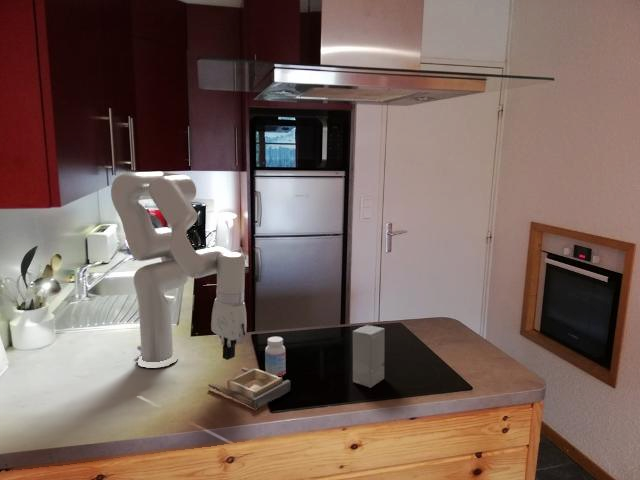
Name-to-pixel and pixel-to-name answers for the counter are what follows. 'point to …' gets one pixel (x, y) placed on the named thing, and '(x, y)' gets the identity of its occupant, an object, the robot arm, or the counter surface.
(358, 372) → the skincare box
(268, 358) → the pill bottle
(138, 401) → the counter surface
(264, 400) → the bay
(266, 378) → the crate
